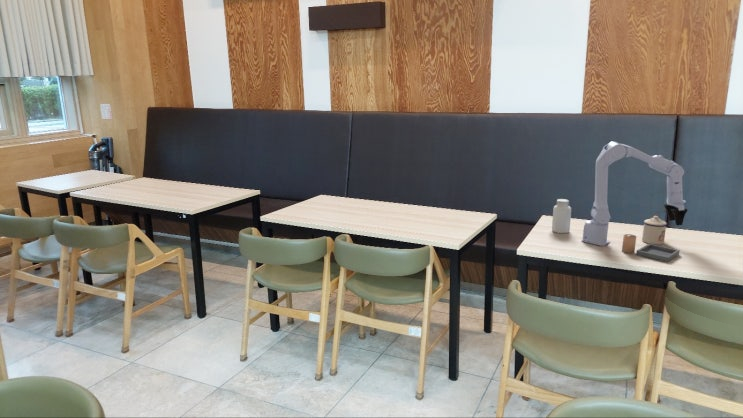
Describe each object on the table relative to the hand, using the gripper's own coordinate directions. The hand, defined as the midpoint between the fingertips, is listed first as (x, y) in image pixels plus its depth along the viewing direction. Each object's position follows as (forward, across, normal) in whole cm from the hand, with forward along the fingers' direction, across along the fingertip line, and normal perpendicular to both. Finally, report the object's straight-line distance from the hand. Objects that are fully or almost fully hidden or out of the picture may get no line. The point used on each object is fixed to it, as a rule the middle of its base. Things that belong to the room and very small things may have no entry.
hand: (675, 222), depth 233 cm
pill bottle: (+4, +16, +45) cm, 48 cm away
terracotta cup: (+7, -11, +22) cm, 26 cm away
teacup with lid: (+10, +6, +7) cm, 14 cm away
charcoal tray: (+9, -14, +12) cm, 20 cm away
